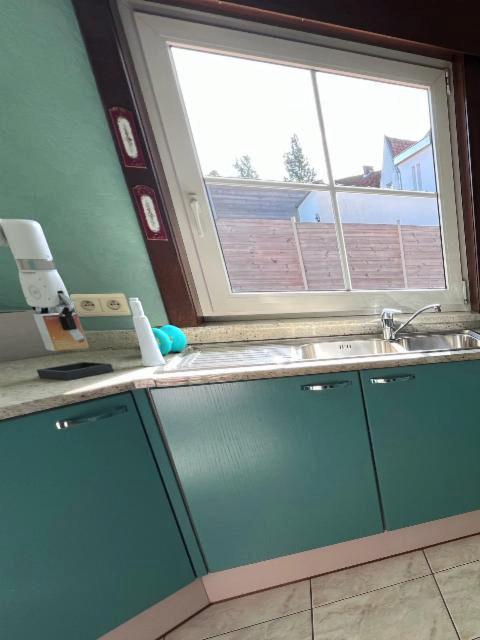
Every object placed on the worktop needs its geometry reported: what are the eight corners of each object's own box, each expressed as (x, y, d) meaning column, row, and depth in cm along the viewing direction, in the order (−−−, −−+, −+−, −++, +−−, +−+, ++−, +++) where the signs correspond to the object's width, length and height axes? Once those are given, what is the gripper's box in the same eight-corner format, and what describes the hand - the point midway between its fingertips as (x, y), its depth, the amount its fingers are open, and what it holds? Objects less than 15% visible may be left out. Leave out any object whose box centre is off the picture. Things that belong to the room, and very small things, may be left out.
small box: (54, 351, 146) (40, 315, 142) (46, 350, 148) (31, 314, 144) (90, 347, 152) (77, 313, 149) (81, 346, 155) (68, 311, 151)
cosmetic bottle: (142, 364, 169) (120, 297, 160) (165, 362, 173) (145, 297, 164) (143, 367, 165) (121, 299, 156) (166, 364, 168) (146, 298, 160)
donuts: (143, 355, 182) (135, 328, 178) (167, 350, 191) (159, 324, 187) (170, 356, 181) (161, 328, 178) (191, 351, 191) (184, 325, 187)
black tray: (39, 378, 148) (36, 369, 147) (86, 369, 160) (83, 361, 159) (68, 380, 147) (65, 372, 146) (113, 371, 158) (111, 363, 157)
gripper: (-4, 265, 139) (22, 329, 146) (45, 267, 137) (69, 332, 143) (28, 265, 146) (52, 326, 153) (76, 266, 143) (98, 329, 150)
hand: (60, 328), depth 148 cm, fingers closed on small box, 6 cm apart
